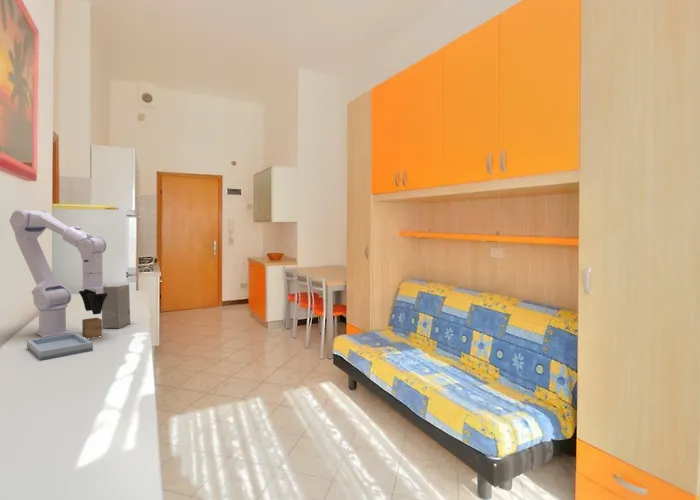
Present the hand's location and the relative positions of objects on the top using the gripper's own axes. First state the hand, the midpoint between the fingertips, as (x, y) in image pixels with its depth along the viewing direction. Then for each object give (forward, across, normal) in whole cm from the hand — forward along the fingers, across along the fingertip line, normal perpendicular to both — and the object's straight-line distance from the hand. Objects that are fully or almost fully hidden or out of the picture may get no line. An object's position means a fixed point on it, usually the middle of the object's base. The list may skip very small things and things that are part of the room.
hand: (93, 312), depth 137 cm
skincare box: (+9, +10, -10) cm, 17 cm away
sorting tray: (+8, -9, +12) cm, 17 cm away
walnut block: (+8, 0, 0) cm, 9 cm away
